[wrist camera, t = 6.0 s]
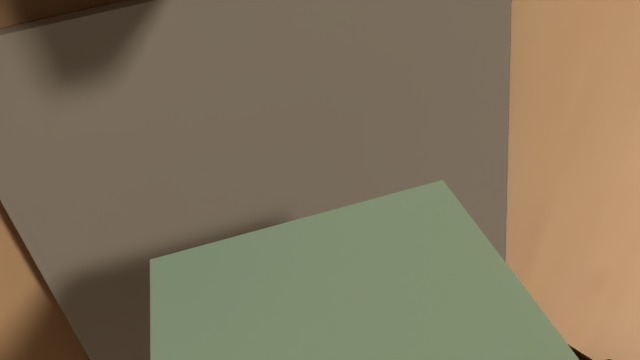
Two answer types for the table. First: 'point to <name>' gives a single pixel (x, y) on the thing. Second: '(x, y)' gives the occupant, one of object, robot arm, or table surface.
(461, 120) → the pad
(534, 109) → the table surface
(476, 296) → the teal block
